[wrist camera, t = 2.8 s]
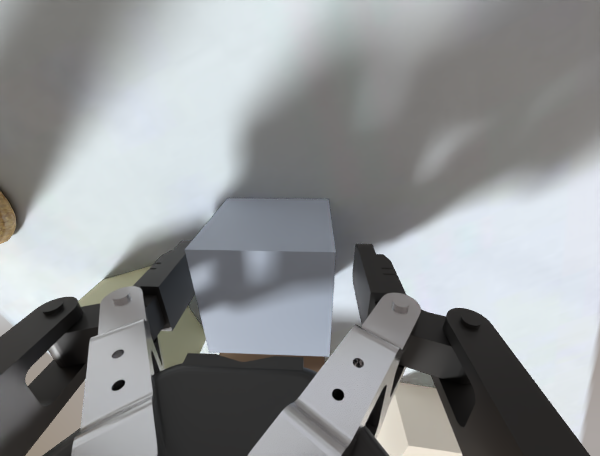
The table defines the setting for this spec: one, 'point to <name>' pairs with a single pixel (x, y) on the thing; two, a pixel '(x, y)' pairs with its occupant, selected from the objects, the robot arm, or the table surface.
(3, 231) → the sprinkles bottle
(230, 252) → the slate block
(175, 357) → the olive block
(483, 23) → the table surface
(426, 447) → the cream block
